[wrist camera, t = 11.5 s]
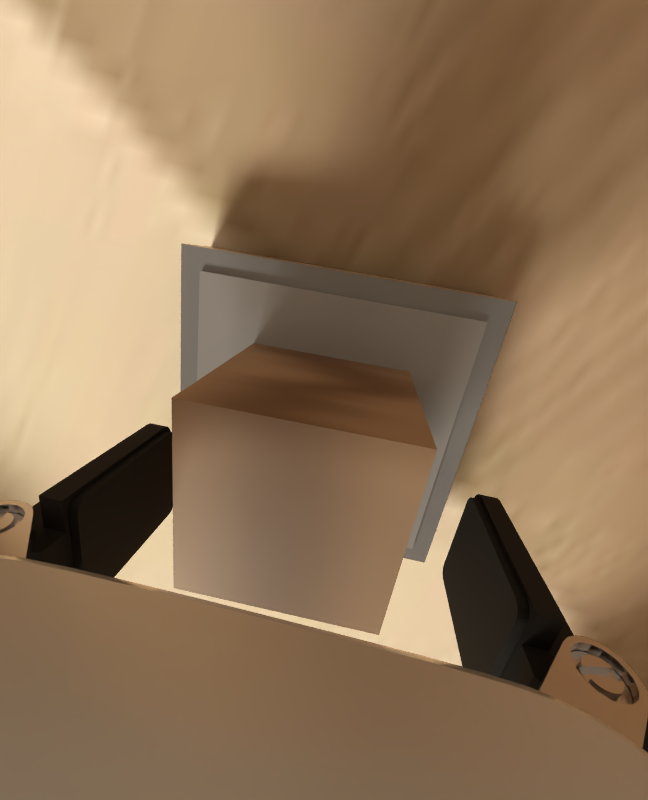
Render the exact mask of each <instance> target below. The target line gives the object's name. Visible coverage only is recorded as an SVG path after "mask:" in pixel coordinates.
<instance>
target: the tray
mask: <svg viewBox="0 0 648 800" xmlns="http://www.w3.org/2000/svg"><path fill="white" fill-rule="evenodd" d="M516 304H517V302H515V301H511V300H507V299H503V298H499V297H495V296H490V295H485V294H479V293H473V292H467V291H462V290H456V289H450V288H444V287H439V286H433V285H427V284H421V283H416V282H410V281H404V280H399V279H393V278H387V277H381V276H376V275H370V274H364V273H358V272H353V271H347V270H341V269H335V268H330V267H324V266H318V265H312V264H307V263H301V262H295V261H289V260H284V259H278V258H272V257H266V256H261V255H255V254H249V253H243V252H238V251H232V250H226V249H220V248H215V247H208V246H199V245H190V244H182V254H181V391H183V390H184V389H186V388H187V387H189V386H190V385H192V384H193V383H195V382H196V381H198V380H199V379H201V378H202V377H204V376H205V375H207V374H208V373H210V372H211V371H213V370H214V369H216V368H217V367H219V366H220V365H222V364H223V363H225V362H226V361H228V360H229V359H231V358H232V357H234V356H235V355H237V354H238V353H240V352H241V351H243V350H244V349H246V348H247V347H249V346H250V345H252V344H253V343H256V344H262V345H267V346H273V347H278V348H284V349H289V350H294V351H300V352H305V353H311V354H316V355H322V356H327V357H333V358H338V359H344V360H349V361H355V362H360V363H366V364H371V365H377V366H382V367H387V368H393V369H398V370H404V371H409V372H410V375H411V378H412V381H413V383H414V386H415V389H416V392H417V395H418V397H419V400H420V403H421V406H422V409H423V411H424V414H425V417H426V420H427V423H428V426H429V428H430V431H431V434H432V437H433V440H434V442H435V445H436V448H437V452H436V455H435V458H434V461H433V464H432V467H431V471H430V474H429V477H428V480H427V483H426V487H425V490H424V493H423V496H422V499H421V502H420V506H419V509H418V512H417V515H416V518H415V521H414V525H413V528H412V531H411V534H410V537H409V541H408V544H407V547H406V550H405V553H404V556H403V558H407V559H411V560H416V561H420V562H425V559H426V557H427V554H428V551H429V548H430V545H431V542H432V540H433V537H434V534H435V531H436V528H437V526H438V523H439V520H440V517H441V514H442V512H443V509H444V506H445V503H446V500H447V498H448V495H449V492H450V489H451V486H452V484H453V481H454V478H455V475H456V472H457V469H458V467H459V464H460V461H461V458H462V455H463V453H464V450H465V447H466V444H467V441H468V439H469V436H470V433H471V430H472V427H473V425H474V422H475V419H476V416H477V413H478V410H479V408H480V405H481V402H482V399H483V396H484V394H485V391H486V388H487V385H488V382H489V380H490V377H491V374H492V371H493V368H494V366H495V363H496V360H497V357H498V354H499V352H500V349H501V346H502V343H503V340H504V337H505V335H506V332H507V329H508V326H509V323H510V321H511V318H512V315H513V312H514V309H515V307H516Z"/></svg>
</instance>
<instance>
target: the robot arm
mask: <svg viewBox="0 0 648 800" xmlns="http://www.w3.org/2000/svg"><path fill="white" fill-rule="evenodd" d="M39 500H40V502H39V503H37V504H36V505H34V506H33V507H31V506H30V505H29V504H28V503H25V502H22V501H14V500H7V501H0V800H648V693H647V691H646V688H645V686H644V684H643V682H642V681H641V680H640V678H639V677H638V675H637V674H636V673H635V671H634V670H633V669H632V668H631V667H630V666H629V665H628V664H627V663H626V662H625V661H624V660H623V659H622V658H621V657H619V656H618V655H617V654H615V653H614V652H613V651H612V650H610V649H609V648H607V647H605V646H604V645H602V644H600V643H599V642H597V641H594V640H592V639H589V638H587V637H583V636H577V635H575V636H574V635H573V633H572V631H571V630H570V628H569V626H568V624H567V622H566V620H565V618H564V616H563V615H562V613H561V611H560V609H559V607H558V605H557V604H556V602H555V600H554V598H553V596H552V595H551V593H550V591H549V589H548V587H547V585H546V584H545V582H544V580H543V578H542V576H541V575H540V573H539V571H538V569H537V567H536V565H535V564H534V562H533V560H532V558H531V556H530V555H529V553H528V551H527V549H526V547H525V546H524V544H523V542H522V540H521V538H520V536H519V535H518V533H517V531H516V529H515V527H514V526H513V524H512V522H511V520H510V518H509V516H508V515H507V513H506V511H505V509H504V507H503V506H502V504H501V502H500V500H499V499H497V498H493V497H489V496H484V495H480V494H478V495H476V496H475V498H469V499H468V501H467V504H466V506H465V509H464V512H463V514H462V517H461V520H460V523H459V525H458V528H457V531H456V533H455V536H454V539H453V542H452V544H451V547H450V550H449V552H448V555H447V558H446V560H445V563H444V566H443V580H444V585H445V589H446V594H447V598H448V603H449V607H450V612H451V616H452V621H453V625H454V630H455V634H456V639H457V643H458V648H459V652H460V657H461V661H462V666H463V667H462V666H458V665H454V664H450V663H447V662H443V661H439V660H436V659H432V658H428V657H425V656H421V655H417V654H414V653H410V652H406V651H402V650H398V649H394V648H390V647H387V646H383V645H379V644H375V643H371V642H367V641H363V640H360V639H356V638H352V637H348V636H344V635H340V634H336V633H333V632H329V631H325V630H321V629H317V628H313V627H309V626H305V625H301V624H297V623H293V622H289V621H286V620H282V619H278V618H274V617H270V616H266V615H262V614H258V613H254V612H250V611H246V610H242V609H238V608H234V607H230V606H226V605H222V604H218V603H214V602H210V601H206V600H202V599H198V598H194V597H190V596H186V595H182V594H178V593H174V592H170V591H166V590H162V589H158V588H154V587H149V586H145V585H141V584H137V583H133V582H129V581H125V580H121V579H117V578H114V577H115V576H116V575H117V573H118V572H119V571H120V570H121V569H122V568H123V566H124V565H125V564H126V563H127V562H128V561H129V560H130V558H131V557H132V556H133V555H134V554H135V553H136V551H137V550H138V549H139V548H140V547H141V546H142V545H143V543H144V542H145V541H146V540H147V539H148V538H149V536H150V535H151V534H152V533H153V532H154V531H155V530H156V528H157V527H158V526H159V525H160V524H161V523H162V522H163V520H164V519H165V518H166V517H167V516H168V515H169V513H170V512H171V510H172V508H173V468H172V432H171V431H170V429H169V428H168V427H165V426H160V425H156V424H148V425H146V426H145V427H143V428H141V429H140V430H138V431H137V432H135V433H134V434H132V435H131V436H129V437H128V438H126V439H125V440H123V441H122V442H120V443H118V444H117V445H115V446H114V447H112V448H111V449H109V450H108V451H106V452H105V453H103V454H102V455H100V456H99V457H97V458H96V459H94V460H92V461H91V462H89V463H88V464H86V465H85V466H83V467H82V468H80V469H79V470H77V471H76V472H74V473H73V474H71V475H69V476H68V477H66V478H65V479H63V480H62V481H60V482H59V483H57V484H56V485H54V486H53V487H51V488H50V489H48V490H46V491H45V492H43V493H42V494H40V495H39Z"/></svg>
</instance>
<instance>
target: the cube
mask: <svg viewBox="0 0 648 800" xmlns="http://www.w3.org/2000/svg"><path fill="white" fill-rule="evenodd" d="M436 452H437V448H436V445H435V442H434V440H433V437H432V434H431V431H430V428H429V426H428V423H427V420H426V417H425V414H424V411H423V409H422V406H421V403H420V400H419V397H418V395H417V392H416V389H415V386H414V383H413V381H412V378H411V375H410V372H409V371H404V370H398V369H393V368H387V367H382V366H377V365H371V364H366V363H360V362H355V361H349V360H344V359H338V358H333V357H327V356H322V355H316V354H311V353H305V352H300V351H294V350H289V349H284V348H278V347H273V346H267V345H262V344H256V343H253V344H252V345H250V346H249V347H247V348H246V349H244V350H243V351H241V352H240V353H238V354H237V355H235V356H234V357H232V358H231V359H229V360H228V361H226V362H225V363H223V364H222V365H220V366H219V367H217V368H216V369H214V370H213V371H211V372H210V373H208V374H207V375H205V376H204V377H202V378H201V379H199V380H198V381H196V382H195V383H193V384H192V385H190V386H189V387H187V388H186V389H184V390H183V391H181V392H180V393H178V394H177V395H175V396H174V397H172V468H173V563H174V588H176V589H181V590H185V591H189V592H194V593H198V594H202V595H207V596H211V597H216V598H220V599H224V600H229V601H233V602H237V603H242V604H246V605H250V606H255V607H259V608H264V609H268V610H272V611H277V612H281V613H285V614H290V615H294V616H298V617H303V618H307V619H312V620H316V621H320V622H325V623H329V624H333V625H338V626H342V627H347V628H351V629H355V630H360V631H364V632H368V633H373V634H377V635H379V633H380V629H381V626H382V623H383V620H384V617H385V614H386V610H387V607H388V604H389V601H390V598H391V595H392V591H393V588H394V585H395V582H396V579H397V575H398V572H399V569H400V566H401V563H402V560H403V556H404V553H405V550H406V547H407V544H408V541H409V537H410V534H411V531H412V528H413V525H414V521H415V518H416V515H417V512H418V509H419V506H420V502H421V499H422V496H423V493H424V490H425V487H426V483H427V480H428V477H429V474H430V471H431V467H432V464H433V461H434V458H435V455H436Z"/></svg>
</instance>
